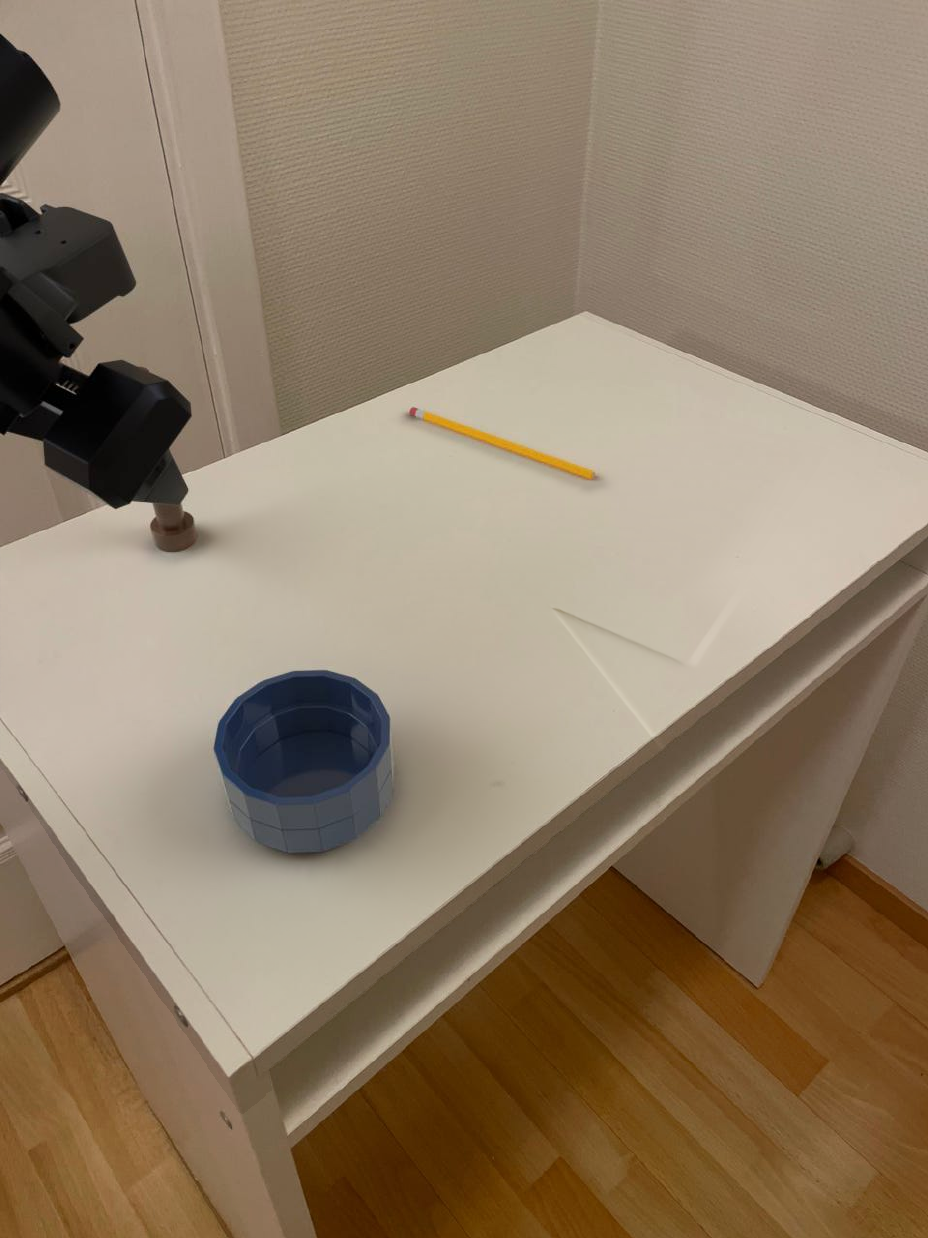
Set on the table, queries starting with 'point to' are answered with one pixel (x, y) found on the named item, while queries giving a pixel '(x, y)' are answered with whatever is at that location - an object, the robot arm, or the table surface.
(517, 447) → the pencil
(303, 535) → the table surface
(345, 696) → the bowl
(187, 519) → the muddler
